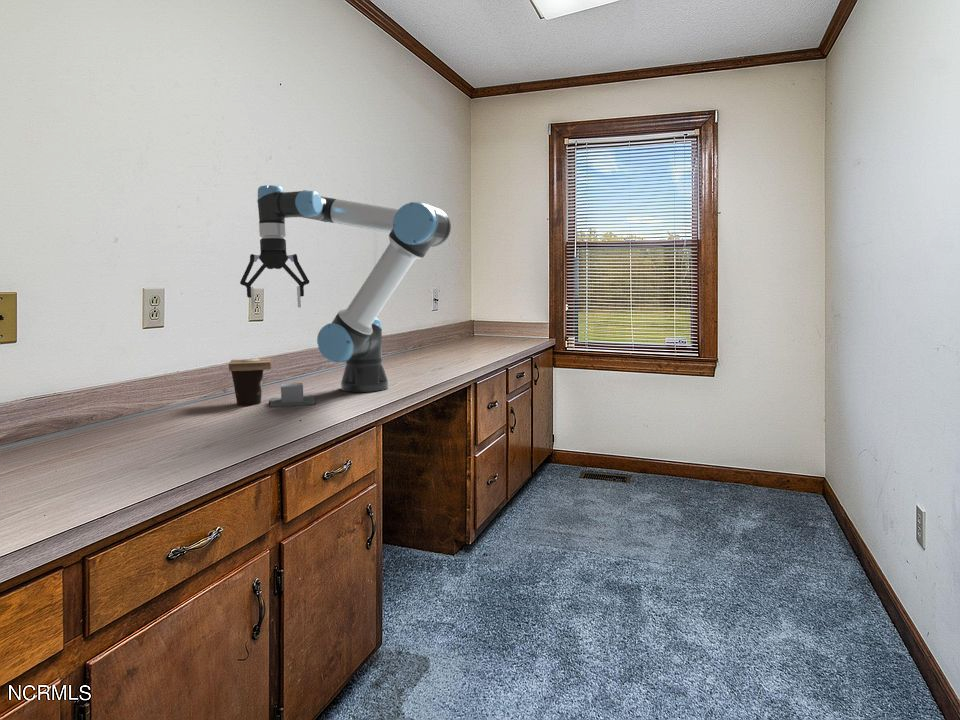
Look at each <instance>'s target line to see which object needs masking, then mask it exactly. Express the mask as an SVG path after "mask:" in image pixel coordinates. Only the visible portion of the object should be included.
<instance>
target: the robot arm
mask: <svg viewBox="0 0 960 720" xmlns="http://www.w3.org/2000/svg"><path fill="white" fill-rule="evenodd" d="M256 201H257V209H258V219H259V222H258V227H259V229H258V232H259V237H260V240H259V245H260V247H259V248H260V253H259V254H253V253H252V254H250V256H249V262H248V265H247V266H246V269H245V271H244V273H243V275H242V277H241V280H240V282H239V283H240V285H241V286H245V288H246V297H247V298H248V299H249V298H251V309H252V310H253V309H254V310H255V294H254V293H255V292H254V290H255V289H254V286H252V285H253V284H254V283H255V281H256V280H257V279H258V278H259V277H260V276H261V274H262V273H263V272H264V270H265V269H268V270H273V269H275V270H281V269H284V271H285V272H286V273H287V274H288V275H289V276H290V277H291V278H292V279H293V280H294V281H295V282H296V283H297V284H298V285H297V286H296V295H297V296H296V297H297V299H296V300H297V308H302V306H301V297H304V296H305V289H304V287H305V286H306V285H309V284H310V280H309V279H308V276H307V275H306V273H305V271H304V269H303V268H302V266H301V264H300V262H299V259H298V254H297V253H293V254H289V255H288V253H287V241H286V238H285V237H286V219H288V218H302V219H303V218H304V219H308V220H315V221H320V222H324V223H330V224H331V223H332V224H338V225H342V226H343V225H344V226H348V227H353V228H354V227H355V228H361V229H366V230H373V231H376V232H377V231H378V232H384V233H389V234H388V238H389V244H388V246H387V247H386V248H385V251H384V252H383V253H382V255H381V256H380V258H379V259H378V261H377V263H376V264H375V266H374V267H373V268H372V270H371V271H370V273H369V274H368V276H367V278H366V279H365V281H363V283H362V286H360V288H359V290H358V291H357V293H356V295H354V297H353V298H352V300H351V302H350V304H349V305H348V307H346V308H345V309H340V310H339V311H338V312H337V314H336V315H335V317H334V318H333V320H332V322H331V323H327V324H325V325H324V326H323V327H321V328H320V330H319V331H318V333H317V339H316V342H317V347H318V350H319V352H320V353H321V355H322V356H323V358H325V359H326V360H328V361H330V362H332V363H345V367H344V371H343V374H342V378H341V381H340V390H342V391H344V392H350V393H365V392H366V393H367V392H370V393H371V392H377V391H383V390H387V389H389V380H388V377H387V373H386V370H385V368H384V364H383V337H382V335H383V332H382V331H383V329H382V322H381V320H380V319H379V318H378V316H379V314H380V313H381V311H382V310H383V309H384V307H385V306H386V305H387V302H388V301H390V300H389V299H390V298H391V296H392V295H393V294H394V292H395V291H396V289H397V288H398V286H400V284H401V281H402V280H403V279H404V277H405V275H407V273H408V271H409V270H410V268H411V267H412V266H413V263H415V261H416V260H417V261H418V260H422V259H424V257H425V255H426V254H427V253H428V251H429V250H430V248H431V247H438V246H440V245H442V244H443V243H445V242H446V241H447V240H448V238H449V237H450V234H451V230H452V229H451V228H452V227H451V226H452V224H451V221H450V218H449V216H448V215H447V214H446V212H445V211H443V209H441V208H439V207H437V206H432V205H430V204H428V203H426V202H422V201H413V202H411V201H410V202H408V203H405V204H402V206H401V207H400V208H396V207H395V208H394V207H389V206H381V205H376V204H368V203H362V202H357V201H352V200H351V201H350V200H346V199H345V200H344V199H340V198H339V199H337V198H332V197H326V196H323V195H320V194H319V193H318V192H317V191H315V190H306V189H305V190H299V191H298V190H297V191H286V192H284V188H283V186H280V185H274V184H273V185H272V184H271V185H269V184H268V185H266V184H265V185H261V186H259V187H258V188H257V200H256ZM257 260H260V262H261V263H262V264H261V266H260V267H259V268H258V269H257V271H256V272H255V273H254V275H253V276H252V277H251V278H250V279H249V280H248V282H246V281H247V278H248V276H249V275H250V272H251V270H252V269H253V266H254V262H257ZM288 260H290V262H292V263H293V264H294V266H295V268H296V270H297V271H298V273H299V274H300V277H301V279H302V280H303V281H302V280H301V279H300V278H299V276H298V275H296V273H294V272H293V270H291V268H290V267H289V266H288V265H287V264H286V263H287V261H288Z"/></svg>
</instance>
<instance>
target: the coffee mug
mask: <svg viewBox="0 0 960 720" xmlns="http://www.w3.org/2000/svg"><path fill="white" fill-rule="evenodd" d="M230 372H231V377H232V382H233V389H234V394H235V399H236V404H237V406H241V407H242V406H243V407H244V406H256V405H260V404H262V394H263V393H262V392H263V391H262V390H263V379H264V370H247V371H230Z"/></svg>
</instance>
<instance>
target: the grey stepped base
mask: <svg viewBox="0 0 960 720" xmlns="http://www.w3.org/2000/svg"><path fill="white" fill-rule="evenodd" d="M280 395H281V397H273V398H272V397H271V398H270V402H269V403H270V408H279V407H292V406H293V407H294V406H295V407H296V406H311V405H313V406H314V405H316V401H315V399H314V396H313V395H305V396H304V384H303V382H294V383H281V384H280Z"/></svg>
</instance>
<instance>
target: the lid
mask: <svg viewBox="0 0 960 720" xmlns="http://www.w3.org/2000/svg"><path fill="white" fill-rule="evenodd" d="M247 370H263V371H264V370H267V371H268V370H272V358H270V357H269V358H268V357H267V358H248V359H247V358H246V359H244V358H243V359H231V360H230V361H229V363H228V371H229V372H231V371H247Z"/></svg>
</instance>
